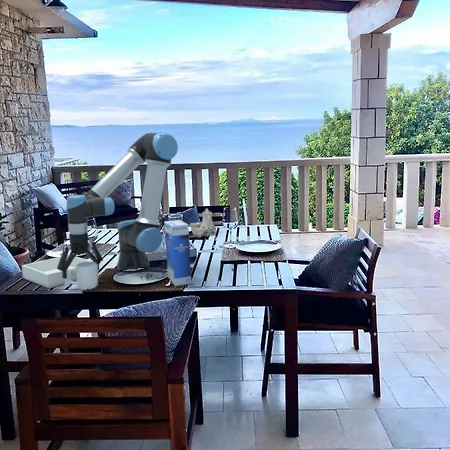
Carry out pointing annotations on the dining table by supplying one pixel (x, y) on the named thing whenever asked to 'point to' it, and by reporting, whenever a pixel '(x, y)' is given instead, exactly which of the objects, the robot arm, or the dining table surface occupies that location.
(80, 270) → the cup
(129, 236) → the robot arm
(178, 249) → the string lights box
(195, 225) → the chinaware
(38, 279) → the box
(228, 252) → the dining table surface
